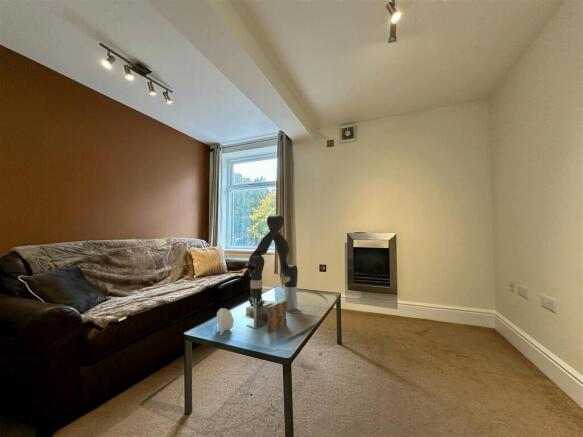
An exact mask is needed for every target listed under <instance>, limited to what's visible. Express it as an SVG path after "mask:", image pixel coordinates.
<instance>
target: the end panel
mask: <svg viewBox="0 0 583 437" xmlns="http://www.w3.org/2000/svg"><path fill="white" fill-rule="evenodd" d="M278 302H279V303H277V304H274V305H272V306H269V307H268V311H267V324H266V325H267V327H266V328H267V330H266V333H267V334H272V333H274V332H276V331H277V330H279V329H281V328H283V327H286V326H285V319H287V310H286V301H285V300H282V301H278Z"/></svg>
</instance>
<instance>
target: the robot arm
mask: <svg viewBox="0 0 583 437" xmlns="http://www.w3.org/2000/svg"><path fill="white" fill-rule="evenodd" d="M284 224H285V219H284V217H283V215H280V214H270V215H268V216H267V218H266V225H267V227H268V230H269V231H268V233H267V234H265V235H264V236H263V237H262V238H261V240H260V241H259V243H258V245H257V247H256V248H255V250H254V251H253V252H252V253H251V255H250V256H249V258H248V264H249V265H250V266H251V267H255V268H254V270H251V271H250V291H249V292H250V297H248V298H247V299H248V302H249V304H250V305H251V306H252V307H253V308H255V307H258V306H261V305H263V304H264V302H265V301H264V300H265V299H263V297H262V295H263V270H264V266H265V258H264V257H263V256H264V255H266V254H267V253H268V251H269V248H270V246H271V244H272V243H273V242H274V246H275V250H276V253H277V255H278V259H279V263H280V268H281V272H282V275H283V276H284V277H287V278H290V279H289V280H287V281H285V282H284V301H286V311H288V312H290V311H291V312H293V311H296V310H297V309H298V294H297V291H298V290H297V289H298V288H297V284H298V276H299V275H298V274H299V273H298V271H299V270H298V267H297V265H295V264H289V262H288V256H289V253H290V247H289V244H288V241H287V240H286V238H285V237H284V236H283V234H282V233H281V232H280V231H281V229H282V227H283V226H284Z"/></svg>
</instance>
